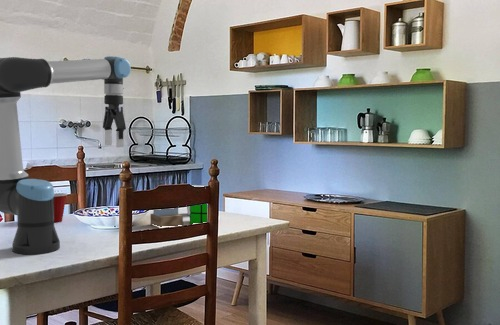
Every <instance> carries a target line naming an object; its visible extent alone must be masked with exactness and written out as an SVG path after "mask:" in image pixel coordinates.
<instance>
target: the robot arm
mask: <svg viewBox="0 0 500 325" xmlns="http://www.w3.org/2000/svg"><path fill="white" fill-rule="evenodd" d="M131 67H132V66H131V63H130V61H129V60H128V59H126V58H123V57H120V56H108V55H107V56H105V57H104V58H95V59H94V58H93V59H91V58H84V59H73V60H53V61H49V60H46V59H45V58H29V57H28V58H26V57H17V56H12V57H11V56H9V57H0V212H1V213H3V214H6V215H13V216H17V217H16V218H17V219H16V220H17V228H16V231H15V235H14V238H13V241H12V247H11V248H12V252H13V253H15V254H20V255H22V254H23V255H38V254H40V255H41V254H47V253H51V252H55V251H58V250H59V249H60V247H61V241H60V238H59V235H58V233H57V230H56V227H55V223H54V194H55V191H54V190H55V189H54V184H52V182H50V181H49V180H45V179H39V178H38V179H37V178H29V177H30V176H29V173H27V172H26V171H25V170H24V164H23V162H24V161H23V155H22V152H23V151H22V146H21V145H22V144H21V134H20V123H19V114H18V105H17V104H18V101H20V99H21V94H22V92H27V91H30V90H35V89H41V88H48V87H49V86H51V84H62V83H63V84H64V83H65V84H66V83H72V82H73V83H74V82H75V83H76V82H87V81H96V80H103V82H104V84H103V86H104V87H103V93H104V103H103V104H105V105H107V106H105V107H104V118H103V122H102V128H103V129H104V146H113V144H112V142H113V141H112V140H113V137H112V136H113V134H112V130H113V129H112V127H113V123H115V127H116V129H115V131H116V134H115V135H116V136H115V137H116V140H115V141H116V144H115V145H116V148H124V145H125V144H124V143H125V142H124V139H125V138H124V134H125V133H124V131H125V130H127V129H126V128H127V127H126V121H125V114H124V108H123V107H124V106H121V105H123V104H124V96H123V94H124V89H125V87H124V78H127V77H129V75H130V74H131V71H132V69H131Z"/></svg>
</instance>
